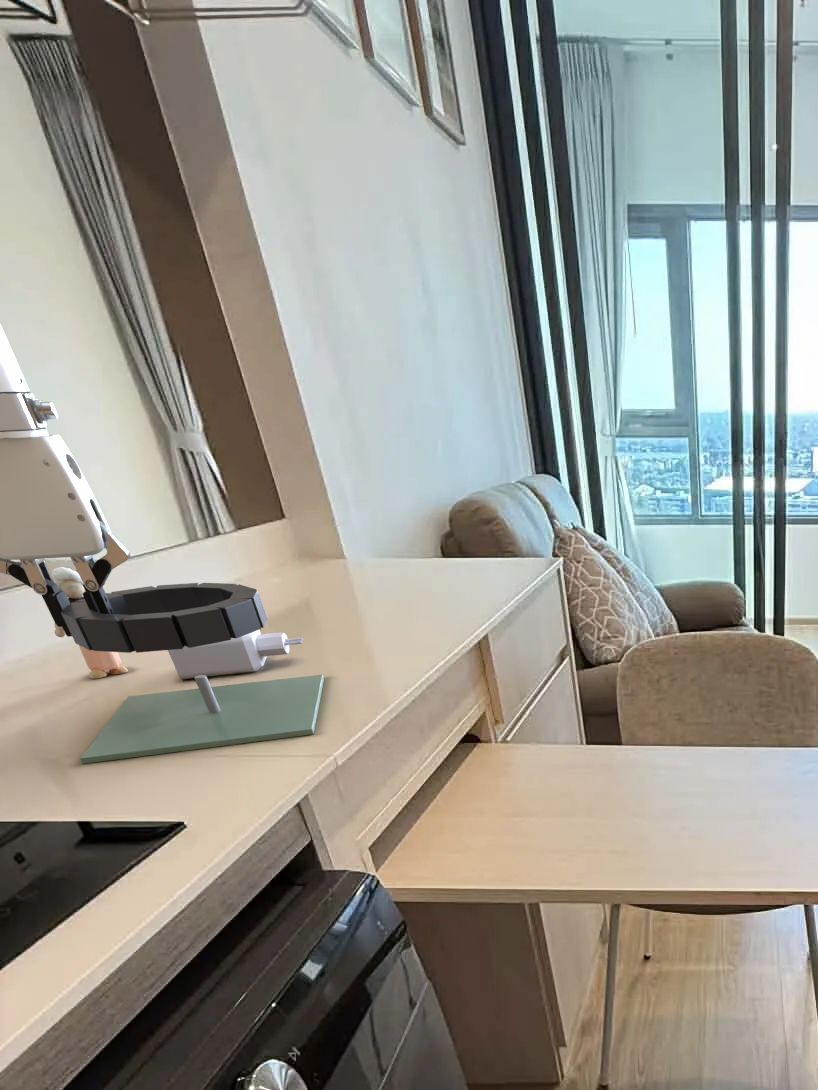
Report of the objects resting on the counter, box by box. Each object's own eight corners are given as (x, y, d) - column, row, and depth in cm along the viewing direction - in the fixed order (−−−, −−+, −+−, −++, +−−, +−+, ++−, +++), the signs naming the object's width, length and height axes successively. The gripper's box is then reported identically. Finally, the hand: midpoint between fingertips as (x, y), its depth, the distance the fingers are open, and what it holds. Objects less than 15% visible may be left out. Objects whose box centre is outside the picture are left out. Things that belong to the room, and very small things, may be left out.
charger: (306, 668, 112) (180, 682, 108) (311, 651, 119) (193, 663, 115) (293, 630, 109) (163, 642, 105) (298, 614, 116) (177, 626, 112)
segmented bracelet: (56, 659, 82) (40, 626, 80) (101, 618, 95) (88, 589, 94) (257, 642, 87) (245, 611, 85) (273, 606, 100) (263, 578, 98)
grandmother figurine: (90, 682, 109) (35, 573, 101) (75, 678, 110) (20, 570, 103) (150, 667, 114) (102, 562, 106) (134, 663, 116) (86, 560, 108)
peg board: (82, 764, 86) (58, 719, 83) (130, 701, 102) (111, 662, 100) (313, 734, 92) (298, 691, 89) (324, 679, 108) (311, 641, 105)
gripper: (102, 414, 82) (183, 618, 94) (-97, 417, 78) (13, 630, 89) (82, 418, 77) (171, 634, 88) (-134, 421, 73) (-11, 648, 84)
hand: (91, 630), depth 89 cm, fingers closed on segmented bracelet, 2 cm apart
